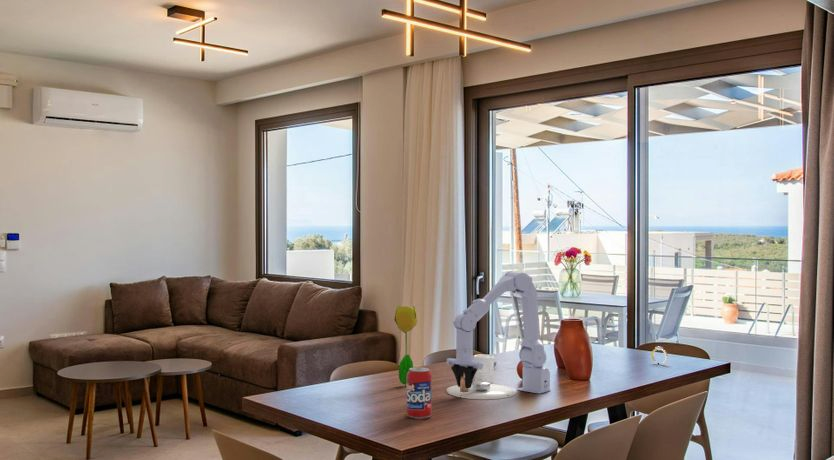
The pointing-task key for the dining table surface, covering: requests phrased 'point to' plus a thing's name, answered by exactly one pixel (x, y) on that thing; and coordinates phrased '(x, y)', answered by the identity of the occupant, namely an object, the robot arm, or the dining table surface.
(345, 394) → the dining table surface
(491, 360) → the white cup
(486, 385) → the white and tan pieces
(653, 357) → the ring
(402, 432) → the dining table surface
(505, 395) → the white plate
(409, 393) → the soda can
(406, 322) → the flower
